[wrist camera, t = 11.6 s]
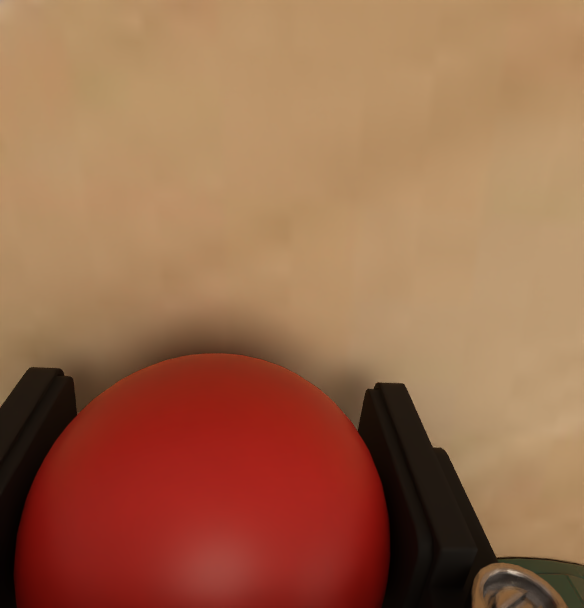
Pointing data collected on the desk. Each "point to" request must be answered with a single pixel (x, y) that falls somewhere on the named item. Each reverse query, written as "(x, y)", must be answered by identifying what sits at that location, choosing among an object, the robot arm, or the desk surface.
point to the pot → (557, 577)
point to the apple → (206, 497)
